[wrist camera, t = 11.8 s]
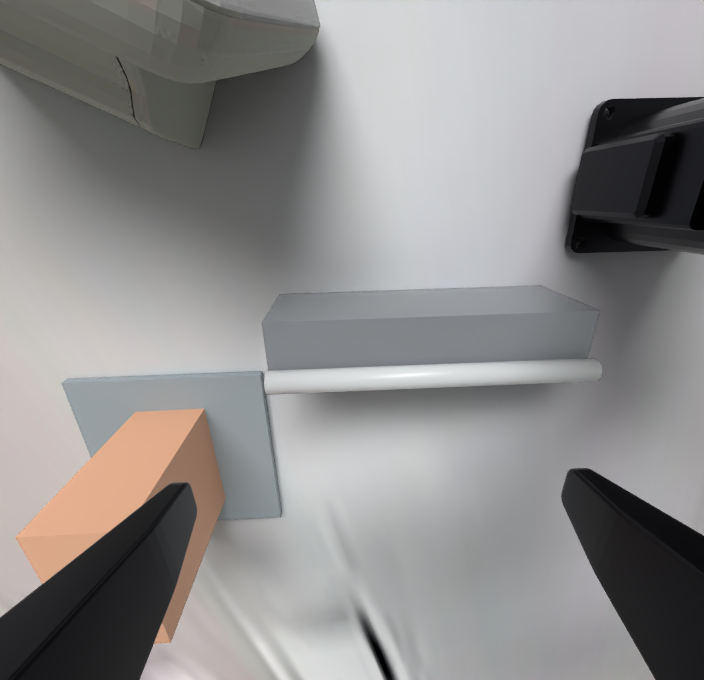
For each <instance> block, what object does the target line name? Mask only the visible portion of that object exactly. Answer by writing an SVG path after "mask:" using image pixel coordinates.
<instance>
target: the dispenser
mask: <svg viewBox="0 0 704 680" xmlns="http://www.w3.org/2000/svg"><path fill="white" fill-rule="evenodd" d="M599 312H600V310H597V309H595V308H593V307H590V306H588V305H586V304H583V303H581V302H579V301H576V300H574V299H572V298H569V297H567V296H564V295H562V294H560V293H557V292H555V291H553V290H550V289H548V288H546V287H543V286H541V285H539V286H509V287H480V288H451V289H421V290H392V291H363V292H333V293H304V294H280V295H279V296H278V298H277V299H276V301H275V303H274V304H273V306H272V307H271V309H270V311H269V312H268V314H267V315H266V317H265V319H264V320H263V322H262V327H263V334H264V342H265V349H266V357H267V364H268V371H266V372H265V376H264V388H265V393H266V394H267V395H271V394H296V393H320V392H345V391H369V390H394V389H419V388H443V387H468V386H492V385H517V384H542V383H566V382H591V381H598V380H599V379H600V378H601V376H602V366H601V364H600V362H599V361H598V360H597V359H595V358H588V354H589V350H590V346H591V343H592V339H593V335H594V331H595V327H596V323H597V320H598V316H599Z"/></svg>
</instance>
